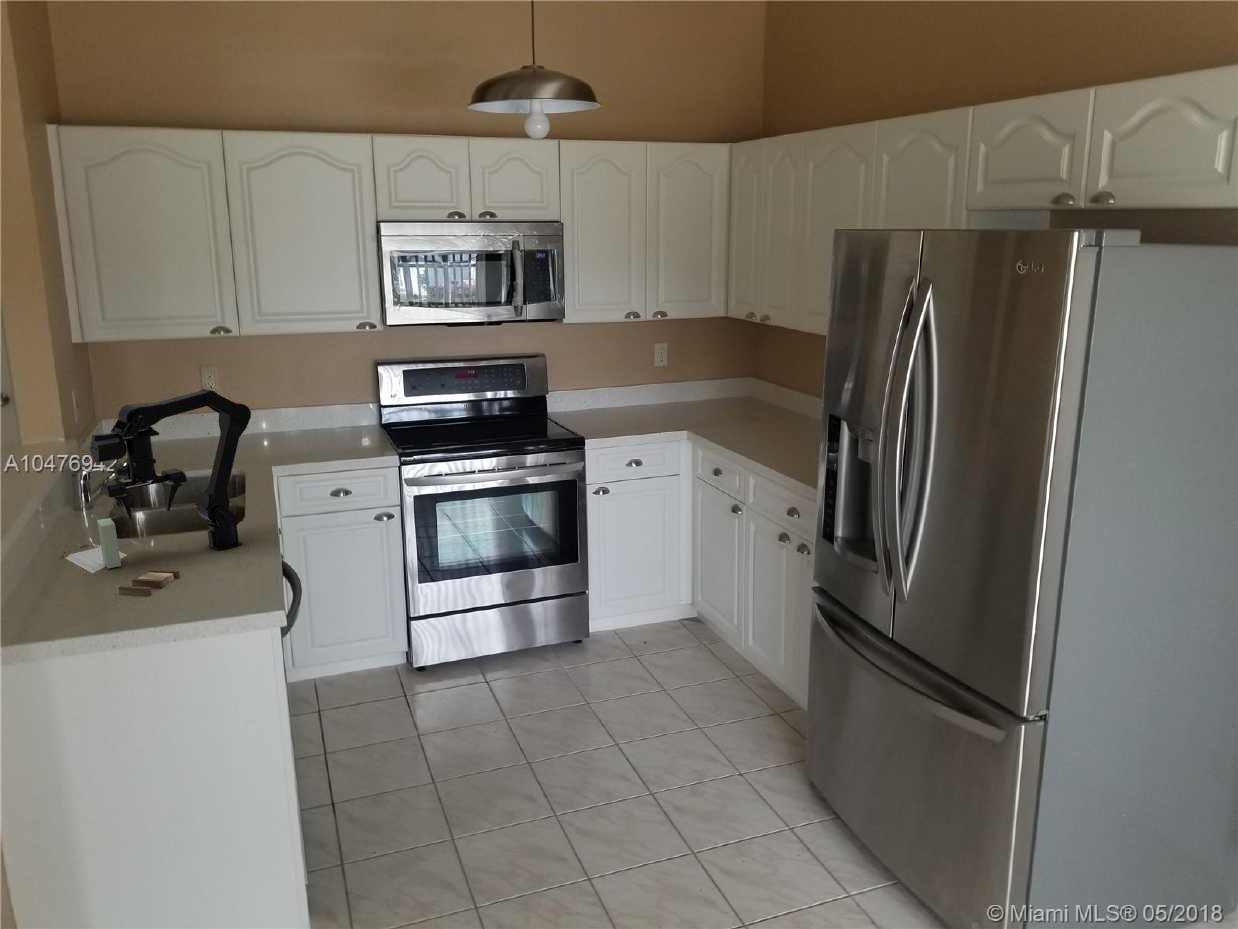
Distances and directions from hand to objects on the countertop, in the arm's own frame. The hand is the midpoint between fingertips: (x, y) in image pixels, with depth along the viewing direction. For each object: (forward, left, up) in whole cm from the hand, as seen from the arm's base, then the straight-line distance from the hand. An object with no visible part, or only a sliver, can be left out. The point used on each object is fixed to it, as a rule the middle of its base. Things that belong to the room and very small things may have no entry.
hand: (149, 515), depth 233 cm
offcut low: (+6, +16, -12) cm, 21 cm away
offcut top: (+6, +16, -11) cm, 20 cm away
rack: (+8, +17, -13) cm, 23 cm away
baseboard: (+9, -8, -14) cm, 18 cm away
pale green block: (+9, -5, -12) cm, 15 cm away
